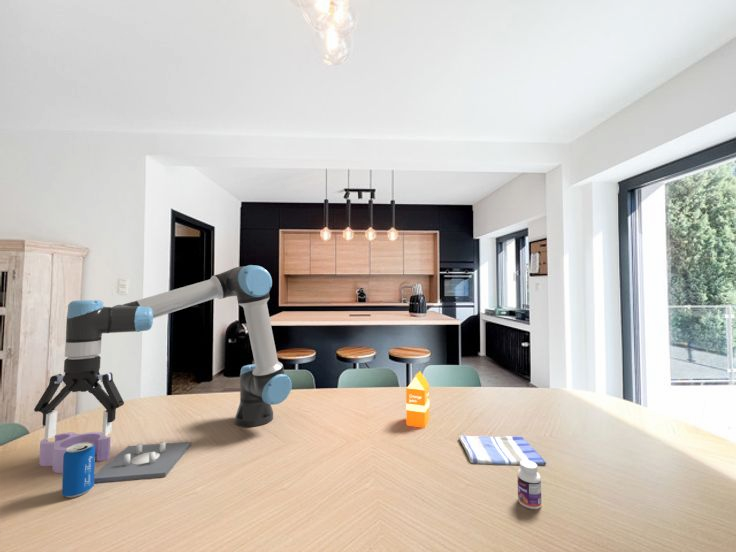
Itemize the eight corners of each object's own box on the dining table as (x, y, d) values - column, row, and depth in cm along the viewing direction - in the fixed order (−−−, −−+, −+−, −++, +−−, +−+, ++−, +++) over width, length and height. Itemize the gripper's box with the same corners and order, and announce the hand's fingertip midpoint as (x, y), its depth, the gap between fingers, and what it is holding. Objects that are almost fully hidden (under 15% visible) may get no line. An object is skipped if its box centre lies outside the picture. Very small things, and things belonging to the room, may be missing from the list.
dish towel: (457, 440, 120) (457, 432, 120) (524, 442, 118) (523, 434, 118) (469, 465, 102) (468, 456, 102) (547, 468, 101) (546, 458, 101)
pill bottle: (513, 496, 86) (513, 458, 86) (533, 495, 86) (532, 458, 87) (525, 510, 81) (524, 470, 81) (546, 509, 81) (545, 469, 81)
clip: (25, 468, 101) (26, 445, 101) (69, 449, 113) (70, 429, 113) (77, 476, 97) (78, 452, 97) (117, 455, 109) (118, 434, 109)
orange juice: (406, 425, 132) (405, 374, 133) (411, 417, 140) (411, 369, 141) (425, 428, 129) (424, 376, 130) (430, 419, 137) (429, 371, 138)
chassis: (190, 445, 115) (191, 432, 116) (165, 476, 96) (165, 462, 96) (128, 449, 112) (128, 437, 112) (88, 483, 92) (88, 468, 93)
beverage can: (75, 501, 85) (76, 453, 85) (55, 497, 86) (57, 451, 87) (100, 486, 91) (101, 442, 92) (81, 483, 92) (82, 440, 93)
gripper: (140, 353, 96) (136, 427, 95) (42, 355, 92) (37, 432, 91) (125, 358, 88) (121, 438, 87) (18, 360, 84) (13, 445, 83)
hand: (78, 435), depth 89 cm, fingers open, 13 cm apart
